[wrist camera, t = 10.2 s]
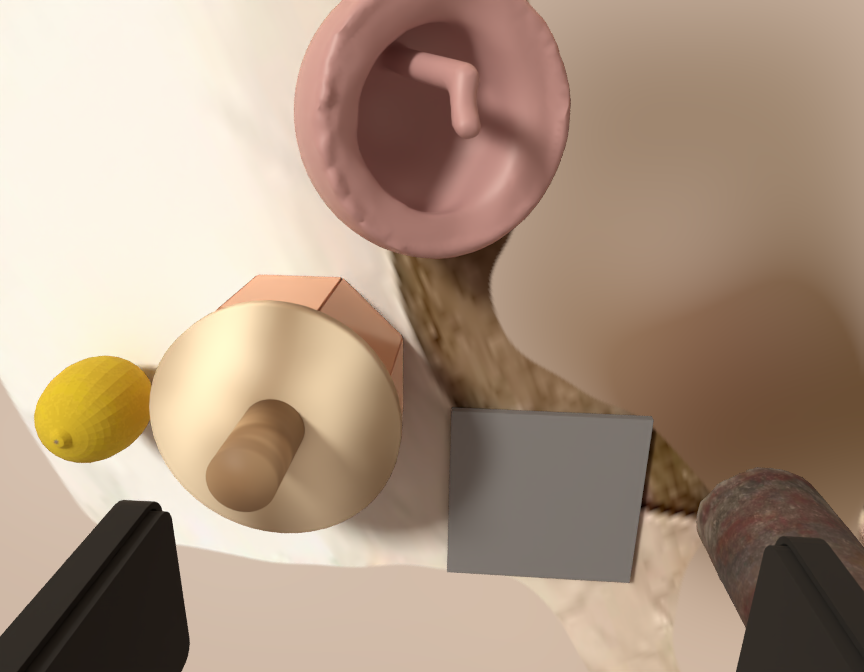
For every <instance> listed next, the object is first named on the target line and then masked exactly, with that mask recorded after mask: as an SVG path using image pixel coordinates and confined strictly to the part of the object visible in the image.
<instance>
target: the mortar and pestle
mask: <svg viewBox="0 0 864 672" xmlns="http://www.w3.org/2000/svg"><path fill="white" fill-rule="evenodd" d="M570 101H571V99H570V89H569V83H568V80H567V75H566V71H565V67H564V63H563V61H562V59H561V57H560V53H559V49H558V46H557V43H556V41H555V39H554V37H553V35H552V33H551V31H550V29H549V27H548V26H547V24H546V22H545V21H544V20H543V18H542V17H541V16H540V15H539V14H538V13H537V12H536V11H535V10H534V9H533V7H532V6H531V5H530V4H529V3H528V2H527V1H526V0H342V1H341V2H340V3H339V4H338V5H337V6H336V7H335V8H334V9H333V10H332V11H331V12H330V13H329V15H328V16H327V17H326V19H325V20H324V21H323V23H322V24H321V25H320V27H319V28H318V30H317V31H316V33H315V34H314V36H313V38H312V40H311V42H310V44H309V46H308V48H307V51H306V53H305V56H304V58H303V61H302V64H301V67H300V70H299V74H298V78H297V84H296V90H295V99H294V124H295V132H296V138H297V143H298V147H299V151H300V155H301V159H302V161H303V164H304V166H305V169H306V171H307V174H308V176H309V178H310V180H311V182H312V184H313V185H314V187H315V189H316V191H317V192H318V194H319V195H320V196H321V198H322V199H323V201H324V202H325V204H326V205H327V206H328V207H329V209H330V210H331V211H332V212H333V213H334V214H335V215H336V216H337V218H338V219H340V220H341V221H342V222H343V223H344V224H345V225H347V226H348V227H349V228H350V229H351V230H353V231H354V232H356V233H357V234H359V235H360V236H361V237H363V238H365V239H366V240H368V241H370V242H372V243H374V244H376V245H378V246H379V247H382V248H385V249H387V250H390V251H393V252H396V253H400V254H404V255H408V256H414V257H421V258H433V259H441V258H452V257H457V256H461V255H464V254H468V253H472V252H475V251H478V250H480V249H482V248H485V247H487V246H489V245H490V244H492V243H494V242H496V241H498V240H499V239H501V238H502V237H504V236H505V235H506V234H508V233H509V232H510V231H511V230H513V229H514V228H515V227H516V226H517V225H518V224H520V223H521V222H522V221H523V220H524V219H525V218H526V217H527V216H528V215H529V214H530V212H531V211H532V210H533V209H534V208H535V207H536V205H537V204H538V203H539V201H540V200H541V198H542V197H543V195H544V194H545V192H546V190H547V188H548V187H549V185H550V183H551V181H552V179H553V177H554V175H555V173H556V171H557V168H558V166H559V163H560V161H561V158H562V155H563V151H564V149H565V146H566V142H567V137H568V130H569V120H570V104H571V103H570Z"/></svg>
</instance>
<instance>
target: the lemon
mask: <svg viewBox="0 0 864 672" xmlns="http://www.w3.org/2000/svg"><path fill="white" fill-rule="evenodd" d="M151 386H152V385H151V383H150V380H149V379H148V377H147V376H146V374H145V373H144V372H143V371H142V370H141V369H140V368H139V367H138V366H136V365H135V364H133V363H131V362H130V361H128V360H125V359H122V358H119V357H113V356H98V357H91V358H87V359H84V360H82V361H79V362H77V363H75V364H72V365H70V366H69V367H67V368H66V369H64V370H63V371H62V372H61V373H60V374H58V375H57V376H56V377H55V378H54V379H53V380H52V381H51V382H50V383H49V384H48V386H47V387H46V388H45V390H44V392H43V393H42V395H41V397H40V398H39V400H38V403H37V405H36V410H35V414H34V420H35V428H36V431H37V434H38V437H39V439H40V440H41V442H42V443H43V445H44V446H45V447H46V448H47V449H48V450H49V451H50V452H52V453H53V454H54V455H56V456H58V457H60V458H62V459H64V460H67V461H72V462H76V463H91V462H95V461H100V460H104V459H107V458H109V457H111V456H113V455H115V454H117V453H119V452H120V451H122V450H124V449H125V448H127V447H128V446H130V445H131V444H132V443H133V442H134V441H135V440H136V439H137V438H138V437H139V436H140V435H141V434H142V432H143V431H144V430H145V428H146V426H147V425H148V423H149V421H150V410H149V403H150V391H151Z"/></svg>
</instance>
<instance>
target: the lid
mask: <svg viewBox="0 0 864 672" xmlns="http://www.w3.org/2000/svg"><path fill="white" fill-rule="evenodd" d="M149 410H150V422H151V426H152V431H153V436H154V438H155V441H156V444H157V447H158V449H159V452H160V454H161V455H162V457H163V459H164V461H165V463H166V465H167V466H168V468H169V469H170V471H171V472H172V474H173V475H174V477H175V478H176V479H177V480H178V481H179V482H180V484H181V485H182V486H183V487H184V488H185V489H186V490H187V491H188V492H189V493H190V494H191V495H192V496H193V497H195V498H196V499H197V500H198V501H200V502H201V503H202V504H204V505H205V506H206V507H208V508H209V509H211V510H212V511H214V512H216V513H217V514H219V515H221V516H223V517H225V518H227V519H229V520H231V521H234V522H236V523H238V524H241V525H244V526H247V527H250V528H254V529H259V530H263V531H269V532H278V533H302V532H311V531H316V530H320V529H325V528H328V527H331V526H333V525H336V524H339V523H341V522H343V521H345V520H347V519H349V518H351V517H353V516H354V515H356V514H357V513H359V512H360V511H361V510H363V509H364V508H365V507H367V506H368V505H369V504H370V503H371V502H372V501H373V500H374V499H375V498H376V497H377V495H378V494H379V493H380V492H381V490H382V489H383V488H384V486H385V485H386V483H387V481H388V479H389V478H390V476H391V474H392V471H393V469H394V466H395V464H396V460H397V456H398V451H399V447H400V443H401V438H402V410H401V405H400V401H399V396H398V393H397V390H396V387H395V385H394V382H393V379H392V378H391V376H390V374H389V372H388V370H387V368H386V366H385V365H384V363H383V362H382V361H381V359H380V358H379V356H378V355H377V354H376V352H375V351H374V350H373V349H372V348H371V347H370V346H369V345H368V343H367V342H366V341H365V340H364V339H363V338H361V337H360V336H359V335H358V334H357V333H355V332H354V331H353V330H352V329H351V328H349V327H348V326H346V325H345V324H343V323H341V322H340V321H338V320H337V319H335V318H333V317H331V316H329V315H327V314H325V313H323V312H321V311H318V310H315V309H312V308H310V307H307V306H304V305H299V304H295V303H290V302H283V301H273V300H262V301H249V302H243V303H237V304H234V305H230V306H227V307H224V308H221V309H219V310H217V311H215V312H212V313H210V314H208V315H207V316H205V317H204V318H202V319H200V320H199V321H197V322H196V323H195V324H193V325H192V326H191V327H190V328H189V329H187V330H186V331H185V332H184V333H183V334H182V335H181V336H180V337H178V338H177V339H176V340H175V341H174V343H173V344H172V345H171V346H170V347H169V349H168V350H167V351H166V353H165V354H164V356H163V358H162V360H161V361H160V363H159V365H158V367H157V370H156V373H155V375H154V378H153V382H152V386H151V391H150V403H149Z"/></svg>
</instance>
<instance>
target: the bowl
mask: <svg viewBox="0 0 864 672" xmlns="http://www.w3.org/2000/svg"><path fill="white" fill-rule="evenodd" d="M262 300H273V301H283V302H290V303H295V304H299V305H304V306H307V307H310V308H312V309H315V310H318V311H321V312H323V313H325V314H327V315H329V316H331V317H333V318H335V319H337V320H338V321H340V322H341V323H343V324H345V325H346V326H348V327H349V328H351V329H352V330H353V331H354V332H355V333H357V334H358V335H359V336H360V337H361V338H363V339H364V340H365V341H366V342H367V343H368V345H369V346H370V347H371V348H372V349H373V350H374V351H375V352H376V354H377V355H378V356H379V358H380V359H381V361H382V362H383V363H384V365H385V366H386V368H387V370H388V372H389V374H390V376H391V378H392V379H393V382H394V385H395V387H396V390H397V393H398V396H399V401H400V405H401V410H402V414H403V338H402V335H401V334H400V333H399V332H398V331H396V330H395V329H394V328H393V327H392V326H391V325H390V324H389V323H388V322H387V321H386V320H385V319H384V318H383V317H382V316H381V315H380V314H379V313H378V312H377V311H376V310H375V309H374V308H373V307H372V306H371V305H370V304H369V303H368V302H367V301H366V300H365V299H364V298H363V297H362V296H361V295H360V294H359V293H358V292H357V291H356V290H355V289H354V288H353V287H351V286H350V285H349V284H348V283H347V282H346V281H345V280H344V279H342V280H341V277H313V276H283V275H258V276H255V277H254V278H253V279H252V280H251V281H250V282H248V283H247V284H246V285H245V286H244V287H243V288H241V289H240V290H239V291H238V292H237V293H235V294H234V295H233V296H232V297H231V298H230V299H228V300H227V301H226V302H225V303H224V304H223V305H221V306H220V307H219V308H218V309H217V310H219V309H221V308H224V307H227V306H230V305H234V304H237V303H243V302H249V301H262ZM217 310H216V311H217Z"/></svg>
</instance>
